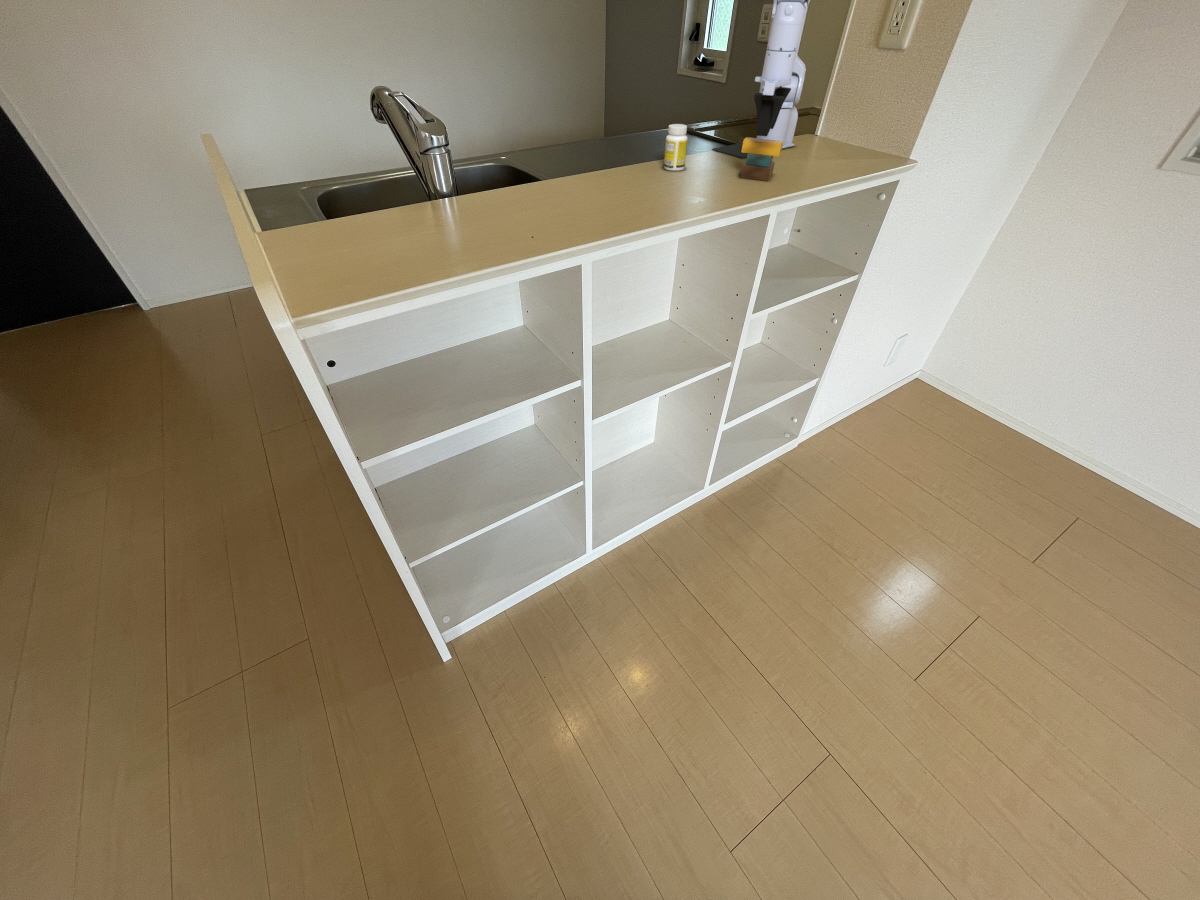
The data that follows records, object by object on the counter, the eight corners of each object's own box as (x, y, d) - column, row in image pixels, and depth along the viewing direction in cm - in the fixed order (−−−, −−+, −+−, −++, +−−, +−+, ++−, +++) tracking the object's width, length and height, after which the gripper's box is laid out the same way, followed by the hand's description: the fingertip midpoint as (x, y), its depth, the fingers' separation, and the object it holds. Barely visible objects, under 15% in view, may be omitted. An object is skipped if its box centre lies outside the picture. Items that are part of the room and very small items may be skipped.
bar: (741, 152, 109) (743, 139, 108) (743, 149, 111) (746, 137, 110) (778, 156, 107) (781, 143, 105) (780, 153, 109) (783, 140, 107)
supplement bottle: (684, 166, 118) (688, 123, 112) (684, 171, 114) (689, 128, 108) (663, 165, 118) (667, 123, 112) (663, 170, 114) (667, 127, 109)
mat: (748, 142, 135) (749, 141, 135) (778, 150, 129) (779, 148, 129) (712, 149, 129) (712, 148, 129) (742, 158, 123) (742, 156, 123)
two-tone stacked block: (740, 177, 111) (744, 154, 108) (745, 170, 115) (749, 148, 112) (767, 181, 109) (772, 157, 106) (772, 174, 113) (777, 151, 110)
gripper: (766, 45, 103) (752, 123, 112) (753, 52, 93) (739, 137, 103) (802, 47, 101) (784, 126, 111) (792, 54, 91) (774, 140, 101)
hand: (765, 132), depth 106 cm, fingers open, 7 cm apart
